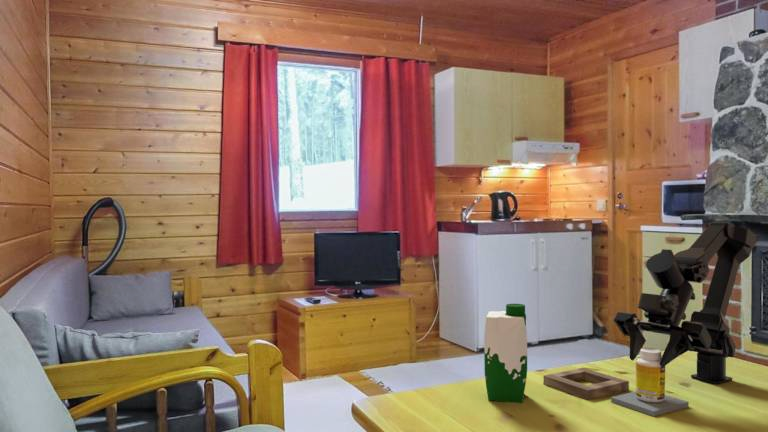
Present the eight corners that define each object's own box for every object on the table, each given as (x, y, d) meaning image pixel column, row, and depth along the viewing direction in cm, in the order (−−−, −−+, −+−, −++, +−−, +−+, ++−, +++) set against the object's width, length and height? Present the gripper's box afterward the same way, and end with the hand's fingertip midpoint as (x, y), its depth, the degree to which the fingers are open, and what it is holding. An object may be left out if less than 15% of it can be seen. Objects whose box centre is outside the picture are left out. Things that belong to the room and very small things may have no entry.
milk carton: (526, 405, 122) (526, 308, 122) (482, 401, 125) (482, 307, 124) (528, 392, 131) (527, 302, 130) (486, 389, 133) (486, 301, 133)
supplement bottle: (663, 405, 118) (664, 354, 118) (633, 400, 121) (634, 351, 120) (665, 397, 123) (666, 348, 123) (636, 393, 126) (637, 345, 125)
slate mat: (645, 393, 129) (645, 388, 129) (688, 406, 120) (688, 401, 120) (611, 402, 123) (611, 397, 123) (653, 416, 115) (653, 411, 115)
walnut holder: (583, 375, 143) (583, 367, 143) (628, 390, 131) (628, 381, 131) (543, 384, 136) (543, 375, 136) (588, 399, 125) (588, 390, 125)
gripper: (617, 275, 131) (589, 331, 125) (704, 283, 116) (677, 347, 110) (636, 306, 136) (610, 362, 130) (722, 317, 121) (697, 381, 115)
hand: (645, 362), depth 121 cm, fingers open, 6 cm apart
